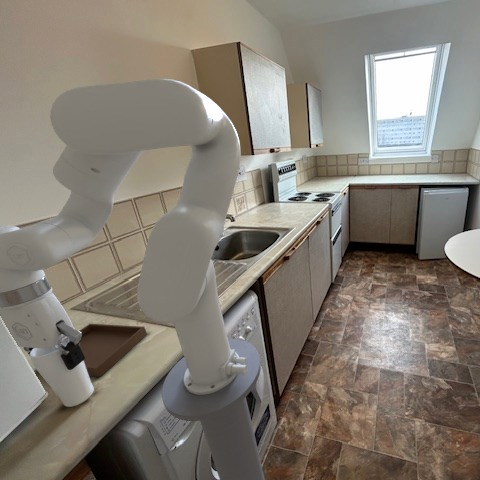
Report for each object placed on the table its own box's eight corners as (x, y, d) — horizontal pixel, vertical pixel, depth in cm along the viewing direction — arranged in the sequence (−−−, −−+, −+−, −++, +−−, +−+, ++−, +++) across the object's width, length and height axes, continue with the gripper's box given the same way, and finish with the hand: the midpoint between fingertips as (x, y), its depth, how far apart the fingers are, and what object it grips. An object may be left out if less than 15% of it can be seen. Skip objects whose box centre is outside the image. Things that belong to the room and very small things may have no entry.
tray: (147, 334, 79) (144, 326, 78) (100, 377, 65) (96, 368, 64) (93, 330, 82) (89, 323, 81) (37, 370, 68) (32, 362, 67)
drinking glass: (67, 417, 56) (35, 362, 50) (54, 403, 59) (23, 351, 53) (104, 391, 61) (78, 339, 56) (90, 380, 64) (65, 330, 59)
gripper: (-41, 301, 48) (7, 374, 54) (36, 304, 45) (77, 381, 51) (10, 280, 55) (47, 347, 61) (80, 282, 52) (111, 352, 58)
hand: (61, 362), depth 56 cm, fingers open, 7 cm apart
